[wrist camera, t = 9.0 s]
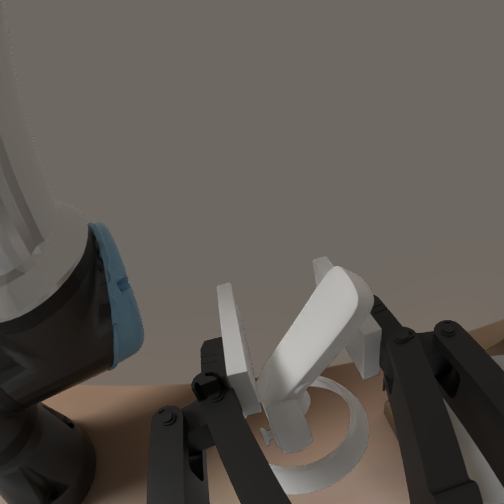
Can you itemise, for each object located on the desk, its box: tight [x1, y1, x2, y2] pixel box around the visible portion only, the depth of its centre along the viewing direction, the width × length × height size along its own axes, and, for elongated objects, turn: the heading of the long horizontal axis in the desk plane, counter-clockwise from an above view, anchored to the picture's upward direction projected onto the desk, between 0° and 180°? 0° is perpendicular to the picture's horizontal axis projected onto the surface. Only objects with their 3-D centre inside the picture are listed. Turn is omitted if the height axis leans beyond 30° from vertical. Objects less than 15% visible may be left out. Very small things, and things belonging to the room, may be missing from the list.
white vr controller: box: [243, 266, 374, 495], centre depth 14 cm, size 8×12×7 cm
